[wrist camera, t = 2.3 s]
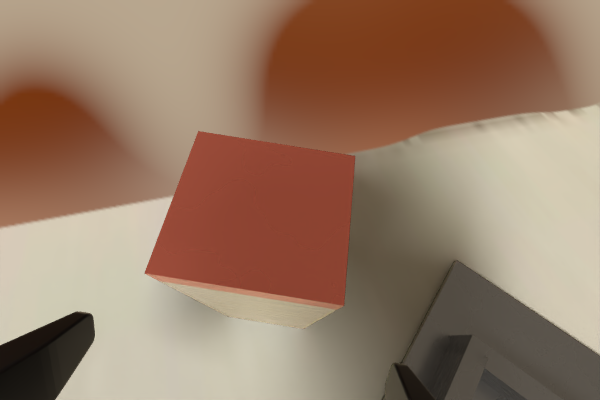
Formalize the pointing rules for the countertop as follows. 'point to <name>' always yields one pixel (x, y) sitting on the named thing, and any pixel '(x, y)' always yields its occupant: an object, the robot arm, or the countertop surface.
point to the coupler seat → (496, 348)
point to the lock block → (259, 230)
